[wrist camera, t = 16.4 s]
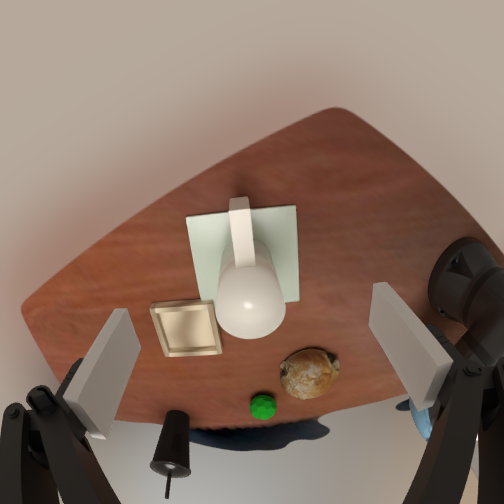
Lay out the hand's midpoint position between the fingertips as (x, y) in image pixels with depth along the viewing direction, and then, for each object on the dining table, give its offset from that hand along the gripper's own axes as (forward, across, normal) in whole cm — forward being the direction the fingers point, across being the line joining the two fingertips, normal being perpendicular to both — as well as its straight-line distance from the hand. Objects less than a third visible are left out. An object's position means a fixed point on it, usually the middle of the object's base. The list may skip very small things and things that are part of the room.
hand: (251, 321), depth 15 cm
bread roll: (+25, -8, +29) cm, 39 cm away
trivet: (+24, 0, +7) cm, 25 cm away
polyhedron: (+25, 0, +36) cm, 43 cm away
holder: (+24, +10, +17) cm, 31 cm away
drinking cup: (+24, +18, +41) cm, 51 cm away
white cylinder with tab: (+23, +1, +4) cm, 24 cm away
